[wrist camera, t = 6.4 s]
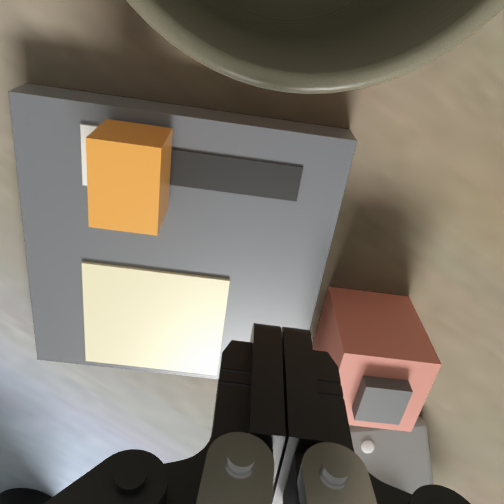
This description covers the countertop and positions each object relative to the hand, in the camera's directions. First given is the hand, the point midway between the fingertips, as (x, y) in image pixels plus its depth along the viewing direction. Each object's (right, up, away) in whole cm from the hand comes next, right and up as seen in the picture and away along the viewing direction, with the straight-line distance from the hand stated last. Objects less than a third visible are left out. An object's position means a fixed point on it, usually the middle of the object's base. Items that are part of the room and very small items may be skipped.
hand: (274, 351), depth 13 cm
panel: (-5, +3, +15) cm, 16 cm away
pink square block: (+6, -2, +17) cm, 19 cm away
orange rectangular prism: (-6, +7, +10) cm, 13 cm away
